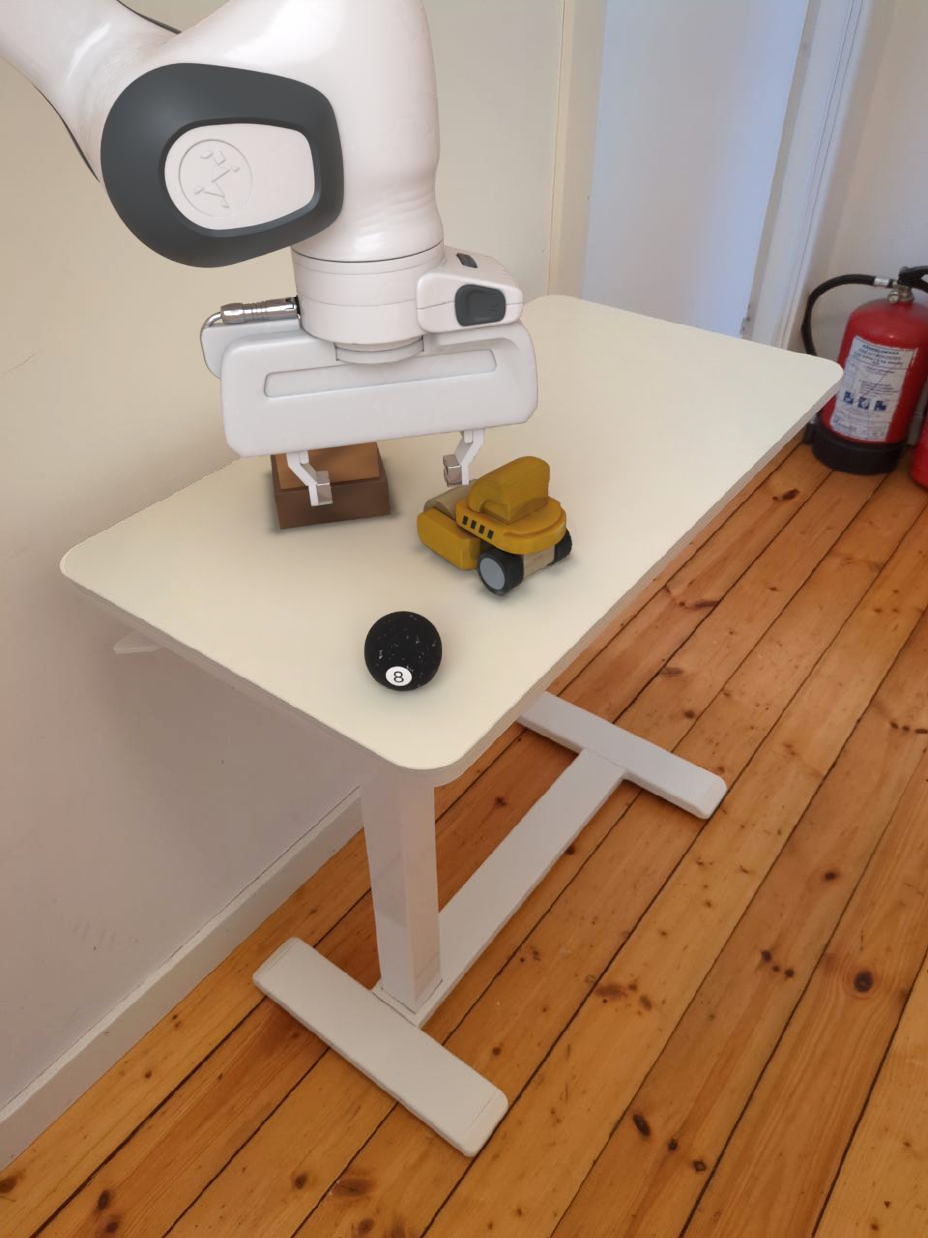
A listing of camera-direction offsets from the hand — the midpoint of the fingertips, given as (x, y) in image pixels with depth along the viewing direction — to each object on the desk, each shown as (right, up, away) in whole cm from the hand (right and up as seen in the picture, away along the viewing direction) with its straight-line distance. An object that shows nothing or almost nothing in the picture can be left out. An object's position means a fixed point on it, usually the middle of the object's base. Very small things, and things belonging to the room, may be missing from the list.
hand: (389, 491), depth 62 cm
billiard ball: (+1, -14, +9) cm, 16 cm away
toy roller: (+8, -3, +22) cm, 24 cm away
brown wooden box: (-9, +4, +31) cm, 33 cm away
